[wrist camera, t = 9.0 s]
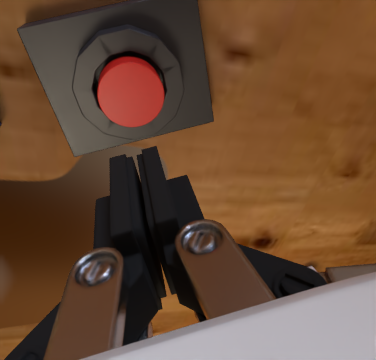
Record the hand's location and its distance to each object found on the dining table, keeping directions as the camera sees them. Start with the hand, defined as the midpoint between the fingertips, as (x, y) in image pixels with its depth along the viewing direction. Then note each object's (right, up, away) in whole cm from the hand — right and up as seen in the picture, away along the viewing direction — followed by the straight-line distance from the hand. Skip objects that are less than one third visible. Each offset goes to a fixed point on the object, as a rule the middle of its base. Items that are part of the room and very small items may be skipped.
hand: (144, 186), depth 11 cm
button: (-2, +6, +9) cm, 11 cm away
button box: (-3, +8, +12) cm, 15 cm away
